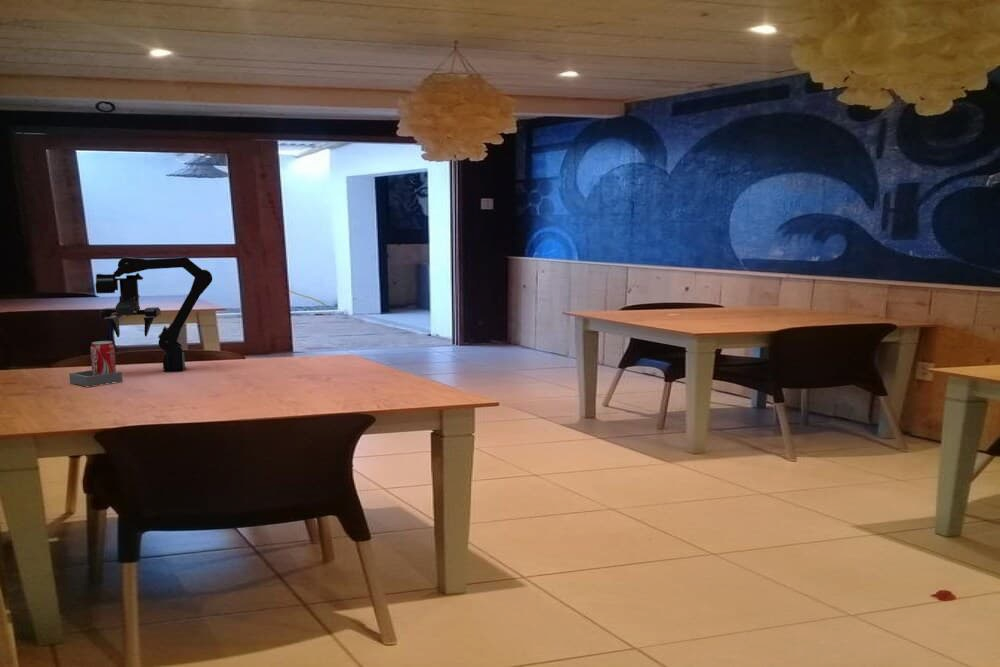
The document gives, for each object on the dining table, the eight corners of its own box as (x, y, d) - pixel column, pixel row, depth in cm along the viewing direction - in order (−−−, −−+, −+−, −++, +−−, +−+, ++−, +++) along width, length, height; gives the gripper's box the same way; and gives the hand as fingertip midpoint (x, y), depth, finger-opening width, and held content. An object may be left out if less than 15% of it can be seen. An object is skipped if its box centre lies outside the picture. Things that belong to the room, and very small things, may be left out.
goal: (105, 377, 265) (104, 368, 265) (122, 381, 258) (121, 371, 258) (70, 383, 256) (69, 373, 256) (87, 387, 249) (86, 377, 249)
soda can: (111, 377, 264) (109, 340, 262) (119, 380, 259) (117, 342, 257) (89, 380, 259) (86, 342, 257) (97, 383, 254) (94, 344, 252)
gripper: (92, 295, 262) (95, 340, 264) (150, 294, 265) (153, 339, 267) (104, 292, 273) (107, 336, 275) (159, 291, 275) (162, 335, 278)
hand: (132, 336), depth 273 cm, fingers open, 9 cm apart
